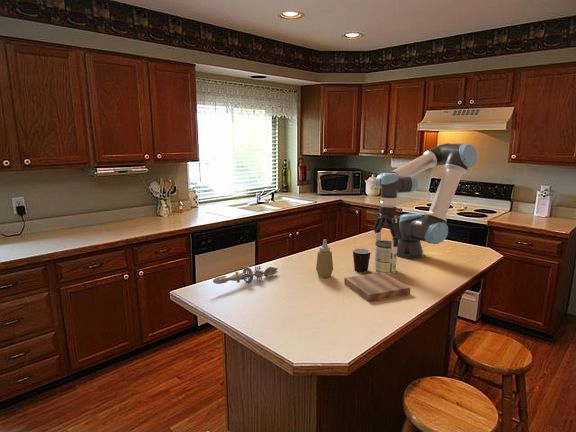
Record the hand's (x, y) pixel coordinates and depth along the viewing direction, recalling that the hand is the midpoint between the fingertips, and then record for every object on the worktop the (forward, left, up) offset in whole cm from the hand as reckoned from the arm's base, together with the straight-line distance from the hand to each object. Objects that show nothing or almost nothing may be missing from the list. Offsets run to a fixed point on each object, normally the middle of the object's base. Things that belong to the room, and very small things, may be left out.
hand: (385, 249), depth 183 cm
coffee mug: (+12, -4, -11) cm, 17 cm away
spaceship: (+67, -8, -11) cm, 68 cm away
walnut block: (+17, +18, -11) cm, 27 cm away
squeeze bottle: (+31, -4, -11) cm, 33 cm away
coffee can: (0, 0, -11) cm, 11 cm away
